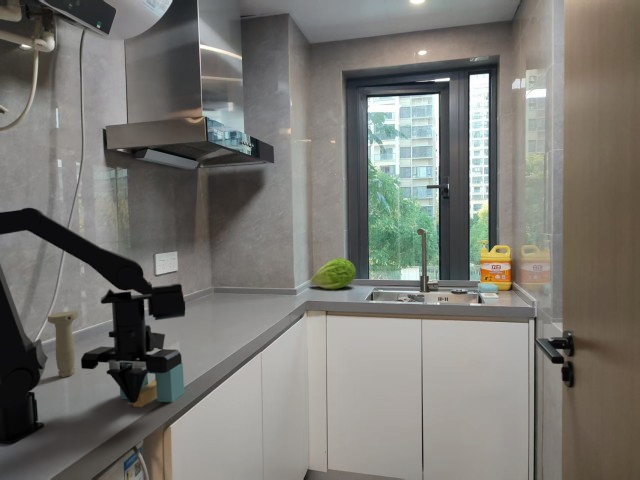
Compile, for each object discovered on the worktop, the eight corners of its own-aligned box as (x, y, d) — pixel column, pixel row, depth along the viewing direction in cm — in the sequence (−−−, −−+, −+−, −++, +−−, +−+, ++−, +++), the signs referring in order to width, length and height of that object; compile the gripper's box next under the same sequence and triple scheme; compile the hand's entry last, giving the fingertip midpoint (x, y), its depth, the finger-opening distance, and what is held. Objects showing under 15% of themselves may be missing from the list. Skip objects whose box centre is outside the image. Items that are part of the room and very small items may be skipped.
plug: (146, 407, 84) (144, 384, 84) (128, 405, 85) (127, 383, 85) (184, 380, 98) (183, 361, 98) (169, 379, 99) (167, 360, 99)
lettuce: (308, 297, 215) (323, 294, 229) (351, 284, 204) (364, 282, 218) (300, 268, 218) (315, 267, 232) (342, 254, 207) (356, 254, 221)
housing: (172, 402, 86) (170, 370, 86) (120, 398, 89) (118, 367, 89) (184, 393, 90) (182, 363, 90) (134, 389, 93) (132, 360, 93)
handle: (85, 372, 106) (81, 312, 105) (59, 381, 100) (55, 317, 99) (73, 369, 108) (69, 310, 107) (47, 378, 102) (43, 316, 101)
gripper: (194, 315, 89) (197, 388, 89) (116, 313, 93) (120, 383, 94) (162, 328, 78) (167, 412, 79) (76, 326, 82) (81, 405, 83)
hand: (133, 402), depth 84 cm, fingers closed, pressing on plug
